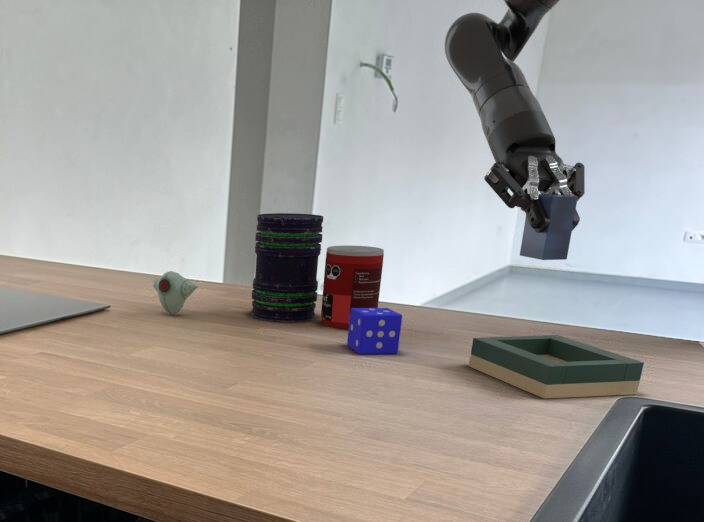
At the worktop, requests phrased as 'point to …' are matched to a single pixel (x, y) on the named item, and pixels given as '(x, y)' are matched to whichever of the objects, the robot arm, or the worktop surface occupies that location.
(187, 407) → the worktop surface
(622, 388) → the tray
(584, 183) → the robot arm
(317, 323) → the worktop surface
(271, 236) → the storage jar
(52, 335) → the worktop surface
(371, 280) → the canned food
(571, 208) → the block
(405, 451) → the worktop surface
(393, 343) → the die
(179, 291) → the robot head
